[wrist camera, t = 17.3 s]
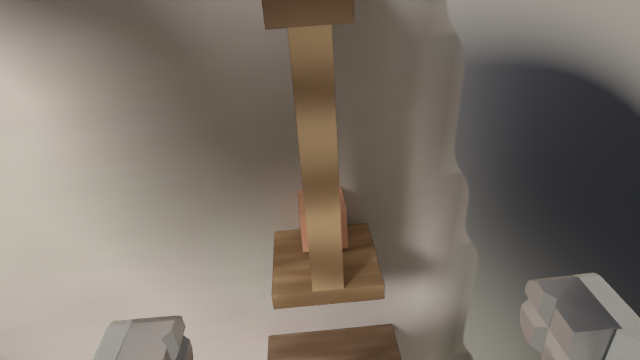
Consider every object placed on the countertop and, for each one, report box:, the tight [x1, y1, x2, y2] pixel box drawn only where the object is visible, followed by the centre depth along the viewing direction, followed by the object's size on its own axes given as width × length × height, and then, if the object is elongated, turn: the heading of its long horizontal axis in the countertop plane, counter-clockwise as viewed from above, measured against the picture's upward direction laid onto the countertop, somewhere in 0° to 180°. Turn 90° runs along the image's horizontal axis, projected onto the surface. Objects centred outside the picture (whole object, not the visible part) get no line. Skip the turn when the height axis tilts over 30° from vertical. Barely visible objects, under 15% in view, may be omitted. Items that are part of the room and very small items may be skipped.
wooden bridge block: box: [262, 0, 385, 309], centre depth 32 cm, size 26×9×8 cm, turn 4°
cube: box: [298, 187, 348, 252], centre depth 38 cm, size 4×4×4 cm
